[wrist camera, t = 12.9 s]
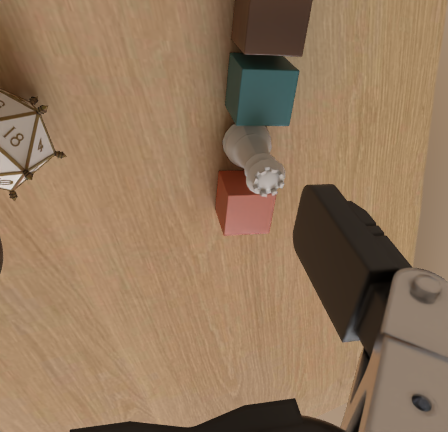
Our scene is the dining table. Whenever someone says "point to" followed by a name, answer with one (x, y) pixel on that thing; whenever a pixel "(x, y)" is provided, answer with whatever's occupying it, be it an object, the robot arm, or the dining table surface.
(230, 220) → the terracotta block
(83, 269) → the dining table surface
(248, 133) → the rook chess piece
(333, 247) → the robot arm
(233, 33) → the walnut block
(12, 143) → the game die
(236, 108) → the teal block
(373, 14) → the dining table surface
